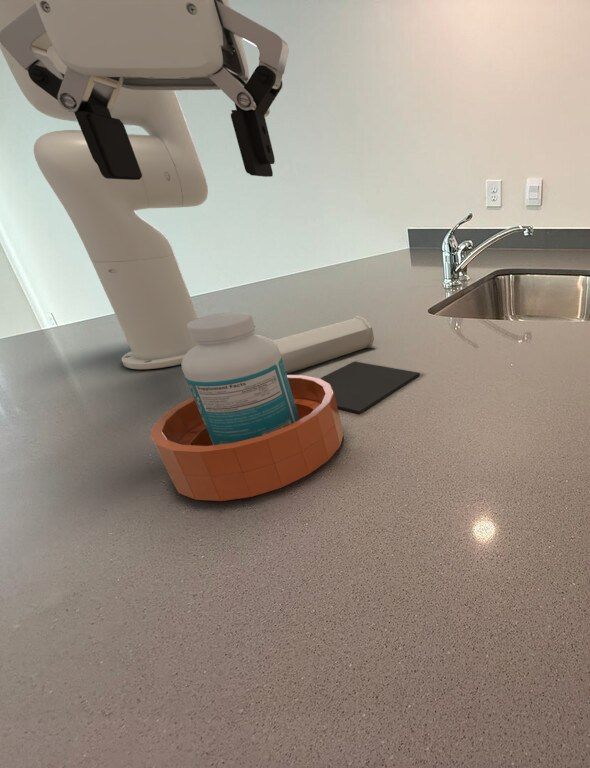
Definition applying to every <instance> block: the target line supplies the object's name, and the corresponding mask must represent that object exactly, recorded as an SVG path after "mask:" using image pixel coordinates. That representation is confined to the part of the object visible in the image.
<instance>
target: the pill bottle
mask: <svg viewBox="0 0 590 768" xmlns="http://www.w3.org/2000/svg"><path fill="white" fill-rule="evenodd" d="M255 328H256V325H255V322H254V319H253V316H252V315H251V313H249V312H245V311H230V312H220V313H214V314H210V315H205V316H202V317H198V319H195V320H193V321H190V322H189V323H188V324H187V329H188V332H189V334H190V337H191V339H193V341H194V342H195V343H197V346H195V347H193V348H192V349H191V350H189V351H188V352H187V353H186V354H185V356H184V357H183V360H182V364H180V365H181V370H182V372H183V375H184V377H185V378H184V379H185V380H186V382H187V385H188V387H189V390H190V392H191V395H192V397H194V399H195V402H196V404H197V407H198V409H199V412H200V414H201V417H202V419H203V421H204V424H205V426H206V429H207V431H208V433H209V436H210V438H211V441H212V443H213V445H219V444H227V443H235V442H239V441H243V440H247V439H251V438H255V437H259V436H263V435H266V434H268V433H271V432H273V431H276V430H279V429H281V428H284V427H286V426H289V425H291V424H293V423H294V422H296V421H298V420H300V419H299V415H298V412H297V409H296V405H295V402H294V398H293V395H292V392H291V388H290V385H289V381H288V378H287V375H288V374H286V371H285V367H284V364H283V360H282V357H281V354H280V350H279V348H278V346H277V345H276V343H275V342H274V341H273V339H271V338H269V337H268V336H265V335H260V334H255V333H254V332H255Z"/></svg>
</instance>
